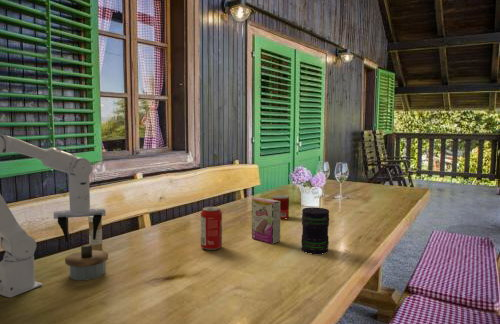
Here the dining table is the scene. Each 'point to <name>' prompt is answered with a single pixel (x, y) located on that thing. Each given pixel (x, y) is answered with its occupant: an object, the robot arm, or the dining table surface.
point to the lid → (86, 257)
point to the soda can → (211, 228)
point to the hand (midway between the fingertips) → (81, 239)
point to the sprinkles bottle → (98, 242)
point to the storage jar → (315, 230)
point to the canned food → (283, 205)
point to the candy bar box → (266, 220)
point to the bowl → (87, 271)
